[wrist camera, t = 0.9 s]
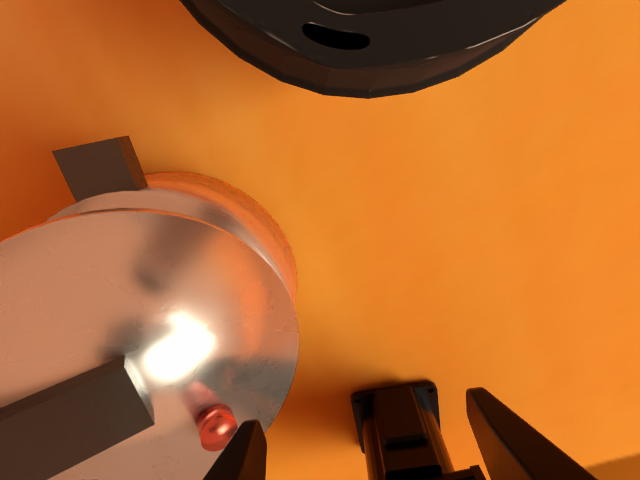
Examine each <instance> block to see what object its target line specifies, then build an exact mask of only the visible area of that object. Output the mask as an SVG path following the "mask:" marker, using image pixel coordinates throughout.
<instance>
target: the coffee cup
mask: <svg viewBox="0 0 640 480" xmlns="http://www.w3.org/2000/svg"><path fill="white" fill-rule="evenodd" d="M180 1H181V2H182V4H183V5H184V6H185V7H186V8H187V10H188V11H189V12H190V13H191V15H192V16H193V17H194V18H195V19H196V21H197V22H198V23H199V24H200V25H201V26H203V27H204V28H205V29H206V30H207V31H208V32H210V33H211V34H212V35H213V36H214V37H216V38H217V39H218V40H219V41H220V42H221V43H223V44H224V45H225V46H226V47H227V48H228V49H230V50H231V51H232V52H233V53H234V54H235V55H237V56H238V57H239V58H241V59H243V60H244V61H246V62H248V63H250V64H251V65H253V66H255V67H257V68H258V69H260V70H262V71H264V72H265V73H267V74H269V75H271V76H272V77H274V78H276V79H278V80H280V81H282V82H285V83H288V84H291V85H294V86H297V87H300V88H304V89H307V90H310V91H313V92H316V93H319V94H322V95H329V96H342V97H354V98H366V99H370V98H377V97H384V96H392V95H399V94H406V93H413V92H416V91H419V90H422V89H425V88H428V87H430V86H433V85H436V84H439V83H442V82H445V81H447V80H450V79H453V78H456V77H458V76H460V75H462V74H464V73H465V72H467V71H469V70H470V69H472V68H474V67H476V66H477V65H479V64H481V63H482V62H484V61H486V60H488V59H489V58H491V57H493V56H494V55H496V54H498V53H500V52H501V51H503V50H504V49H505V48H506V47H508V46H509V45H510V44H511V43H512V42H513V41H515V40H516V39H517V38H518V37H519V36H520V35H522V34H523V33H524V32H525V31H526V30H528V29H529V28H530V27H531V26H532V25H533V24H535V23H536V22H537V21H538V20H539V19H540V18H542V17H543V16H544V15H545V14H547V13H548V12H550V11H552V10H553V9H555V8H556V7H558V6H559V5H561V4H562V3H564V2H565V1H566V0H180Z"/></svg>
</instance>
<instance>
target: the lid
mask: <svg viewBox="0 0 640 480" xmlns="http://www.w3.org/2000/svg"><path fill="white" fill-rule="evenodd" d="M298 350H299V330H298V323H297V318H296V312H295V309H294V306H293V304H292V301H291V298H290V295H289V293H288V292H287V290H286V288H285V286H284V284H283V282H282V281H281V279H280V278H279V276H278V275H277V274H276V272H275V271H274V270H273V268H272V267H271V266H270V265H269V264H268V263H267V262H266V261H265V260H264V259H263V258H262V257H261V256H260V255H259V254H258V253H257V252H256V251H255V250H254V249H253V248H252V247H250V246H249V245H248V244H246V243H245V242H244V241H242V240H241V239H240V238H238V237H237V236H235V235H234V234H232V233H230V232H228V231H226V230H225V229H223V228H221V227H219V226H217V225H215V224H212V223H210V222H207V221H204V220H202V219H199V218H197V217H193V216H189V215H185V214H181V213H177V212H172V211H165V210H158V209H150V208H114V209H103V210H92V211H87V212H83V213H78V214H73V215H68V216H63V217H60V218H57V219H54V220H51V221H48V222H45V223H42V224H39V225H36V226H32V227H30V228H28V229H26V230H24V231H22V232H19V233H17V234H15V235H13V236H11V237H9V238H6V239H4V240H2V241H1V242H0V480H202V479H203V478H204V477H205V475H206V474H207V472H208V471H209V469H210V468H211V467H212V465H213V464H214V462H215V461H216V459H217V458H218V456H219V455H220V454H221V452H222V451H223V449H224V448H225V446H226V445H227V444H228V442H229V441H230V439H231V438H232V436H233V435H234V434H235V432H236V431H237V429H238V428H239V426H240V425H241V424H242V422H244V421H246V420H252V419H258V420H259V422H260V424H261V427H262V430H263V432H264V433H265V432H266V430H267V429H268V428H269V426H270V425H271V424H272V422H273V420H274V419H275V417H276V416H277V414H278V412H279V411H280V409H281V407H282V405H283V403H284V401H285V399H286V397H287V394H288V392H289V389H290V386H291V384H292V381H293V378H294V374H295V370H296V365H297V361H298Z"/></svg>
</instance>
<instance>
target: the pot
mask: <svg viewBox="0 0 640 480" xmlns="http://www.w3.org/2000/svg"><path fill="white" fill-rule="evenodd" d="M52 152H53V154H54V157H55V159H56V161H57V163H58V165H59V167H60V169H61V171H62V173H63V175H64V177H65V179H66V181H67V183H68V186H69V188H70V190H71V192H72V194H73V196H74V198H75V200H76V202H77V203H75V204H73V205H71V206H68V207H66V208H64V209H62V210H61V211H59V212H58V213H56V214H55V215H53V216H51V217H50V218H49V219H48V220H46V221H45V222H48V221H51V220H54V219H57V218H60V217H63V216H68V215H73V214H78V213H83V212H87V211H92V210H103V209H114V208H150V209H158V210H165V211H172V212H177V213H181V214H185V215H189V216H193V217H197V218H199V219H202V220H204V221H207V222H210V223H212V224H215V225H217V226H219V227H221V228H223V229H225V230H226V231H228V232H230V233H232V234H234V235H235V236H237V237H238V238H240V239H241V240H242V241H244V242H245V243H246V244H248V245H249V246H250V247H252V248H253V249H254V250H255V251H256V252H257V253H258V254H259V255H260V256H261V257H262V258H263V259H264V260H265V261H266V262H267V263H268V264H269V265H270V266H271V267H272V268H273V270H274V271H275V272H276V274H277V275H278V276H279V278H280V279H281V281H282V282H283V284H284V286H285V288H286V290H287V292H288V293H289V295H290V298H291V301H292V304H293V306H294V304H295V296H296V287H297V272H296V266H295V260H294V257H293V254H292V251H291V248H290V245H289V243H288V241H287V239H286V237H285V235H284V233H283V232H282V230H281V229H280V227H279V226H278V224H277V223H276V222H275V220H274V219H273V218H272V217H271V216H270V215H269V213H268V212H267V211H266V210H265V209H264V208H263V207H261V206H260V205H259V204H258V203H257V202H256V201H255V200H253V199H252V198H250V197H249V196H248V195H246V194H245V193H243V192H242V191H240V190H238V189H236V188H234V187H233V186H231V185H229V184H227V183H224V182H222V181H219V180H217V179H214V178H210V177H207V176H203V175H199V174H193V173H185V172H162V173H154V174H149V175H145V176H144V174H143V171H142V169H141V166H140V164H139V161H138V158H137V156H136V153H135V151H134V148H133V146H132V143H131V140H130V138H129V136H124V137H118V138H113V139H108V140H104V141H99V142H94V143H89V144H84V145H80V146H75V147H70V148H65V149H61V150H56V151H52ZM45 222H44V223H45Z"/></svg>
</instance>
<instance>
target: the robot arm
mask: <svg viewBox="0 0 640 480" xmlns="http://www.w3.org/2000/svg"><path fill="white" fill-rule="evenodd" d="M429 388H431V389H429ZM351 403H352V408H353V413H354V417H355V422H356V427H357V431H358V436H359V441H360V446H361V450H362V452H363V453H364V454H365V456H366V464H367V472H368V479H369V480H486V479H485V477H484V475H483V473H482V471H481V469H480V467H479V465H474V466H470V468H469V469H464V470H459V471H455V470H454V468H453V465H452V462H451V459H450V457H449V454H448V451H447V448H446V446H445V443H444V440H443V438H442V435H441V431H440V419H439V406H438V393H437V388H436V385H435V383H433V382H422V383H415V384H408V385H401V386H394V387H387V388H381V389H374V390H367V391H360V392H355V393H353V394H352V395H351ZM466 406H467V415H468V419H469V422H470V425H471V427H472V430H473V433H474V435H475V438H476V441H477V444H478V446H479V449H480V452H481V454H482V457H483V460H484V462H485V465H486V468H487V470H488V473H489V476H490V478H491V480H598V479H597V478H595V477H594V476H593V475H592V474H590V473H589V472H588V471H587V470H585V469H584V468H583V467H582V466H580V465H579V464H578V463H577V462H576V461H574V460H573V459H572V458H571V457H569V456H568V455H567V454H566V453H564V452H563V451H562V450H561V449H559V448H558V447H557V446H556V445H554V444H553V443H552V442H551V441H549V440H548V439H547V438H546V437H544V436H543V435H542V434H541V433H539V432H538V431H537V430H536V429H534V428H533V427H532V426H531V425H529V424H528V423H527V422H526V421H524V420H523V419H522V418H521V417H519V416H518V415H517V414H516V413H514V412H513V411H512V410H511V409H509V408H508V407H507V406H506V405H504V404H503V403H502V402H501V401H499V400H498V399H497V398H496V397H494V396H493V395H492V394H491V393H489V392H488V391H487V390H486V389H484V388H482V387H476V388H469V389H467V391H466ZM266 455H267V443H266V438H265V435H264V432H263V430H262V427H261V424H260V422H259V420H258V419H252V420H246V421H244V422H242V424H241V425H240V426H239V428H238V429H237V431H236V432H235V434H234V435H233V436H232V438H231V439H230V441H229V442H228V444H227V445H226V446H225V448H224V449H223V451H222V452H221V454H220V455H219V456H218V458H217V459H216V461H215V462H214V464H213V465H212V467H211V468H210V469H209V471H208V472H207V474H206V475H205V477H204V478H203V479H202V480H265V476H266Z"/></svg>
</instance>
